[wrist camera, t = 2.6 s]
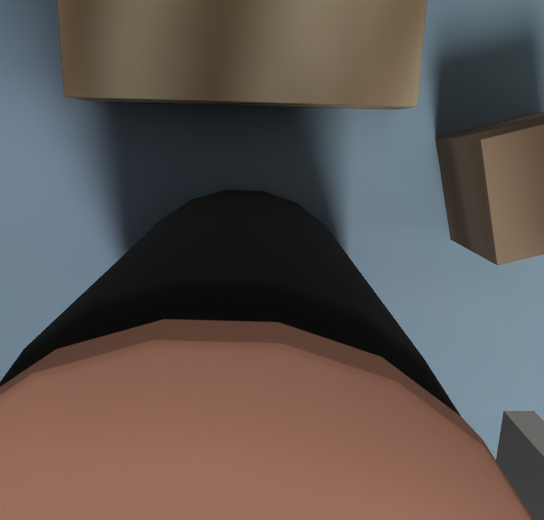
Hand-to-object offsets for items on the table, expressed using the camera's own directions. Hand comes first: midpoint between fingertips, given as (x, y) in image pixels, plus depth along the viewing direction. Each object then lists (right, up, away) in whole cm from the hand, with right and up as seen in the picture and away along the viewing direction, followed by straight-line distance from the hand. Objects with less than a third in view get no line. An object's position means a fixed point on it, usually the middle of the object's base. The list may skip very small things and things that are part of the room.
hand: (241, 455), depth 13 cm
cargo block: (+11, +9, +12) cm, 19 cm away
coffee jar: (-1, +3, +13) cm, 13 cm away
